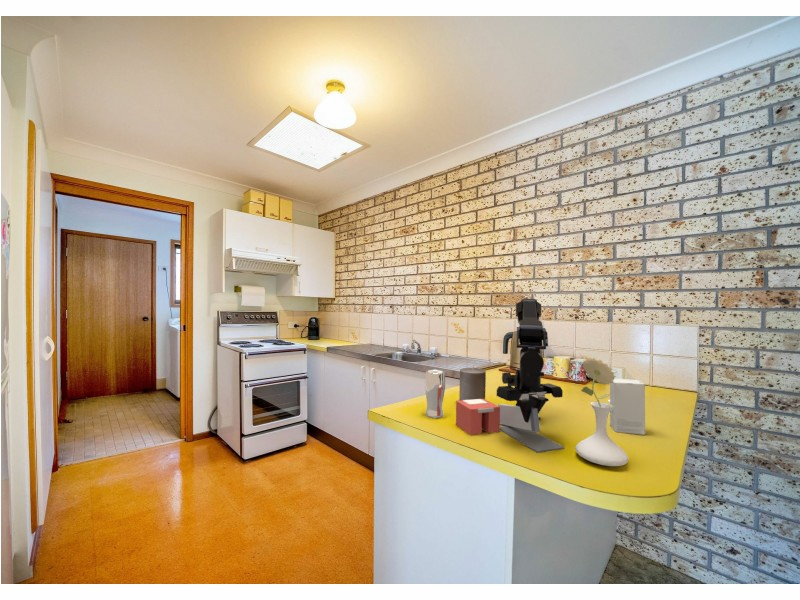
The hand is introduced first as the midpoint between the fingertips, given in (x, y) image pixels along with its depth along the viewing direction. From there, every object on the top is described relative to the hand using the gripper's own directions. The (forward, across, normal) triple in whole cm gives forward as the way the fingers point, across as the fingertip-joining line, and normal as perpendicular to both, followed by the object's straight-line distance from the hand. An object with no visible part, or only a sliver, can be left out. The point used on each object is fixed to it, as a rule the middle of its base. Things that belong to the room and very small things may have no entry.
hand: (529, 421), depth 96 cm
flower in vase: (+5, -9, +15) cm, 18 cm away
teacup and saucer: (+6, -66, -23) cm, 70 cm away
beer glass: (+5, +18, -26) cm, 32 cm away
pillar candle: (+5, 0, -32) cm, 32 cm away
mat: (+5, 0, -1) cm, 5 cm away
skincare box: (+5, -35, +2) cm, 35 cm away
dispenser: (+5, +10, -12) cm, 16 cm away
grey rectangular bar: (+3, 0, -5) cm, 6 cm away
